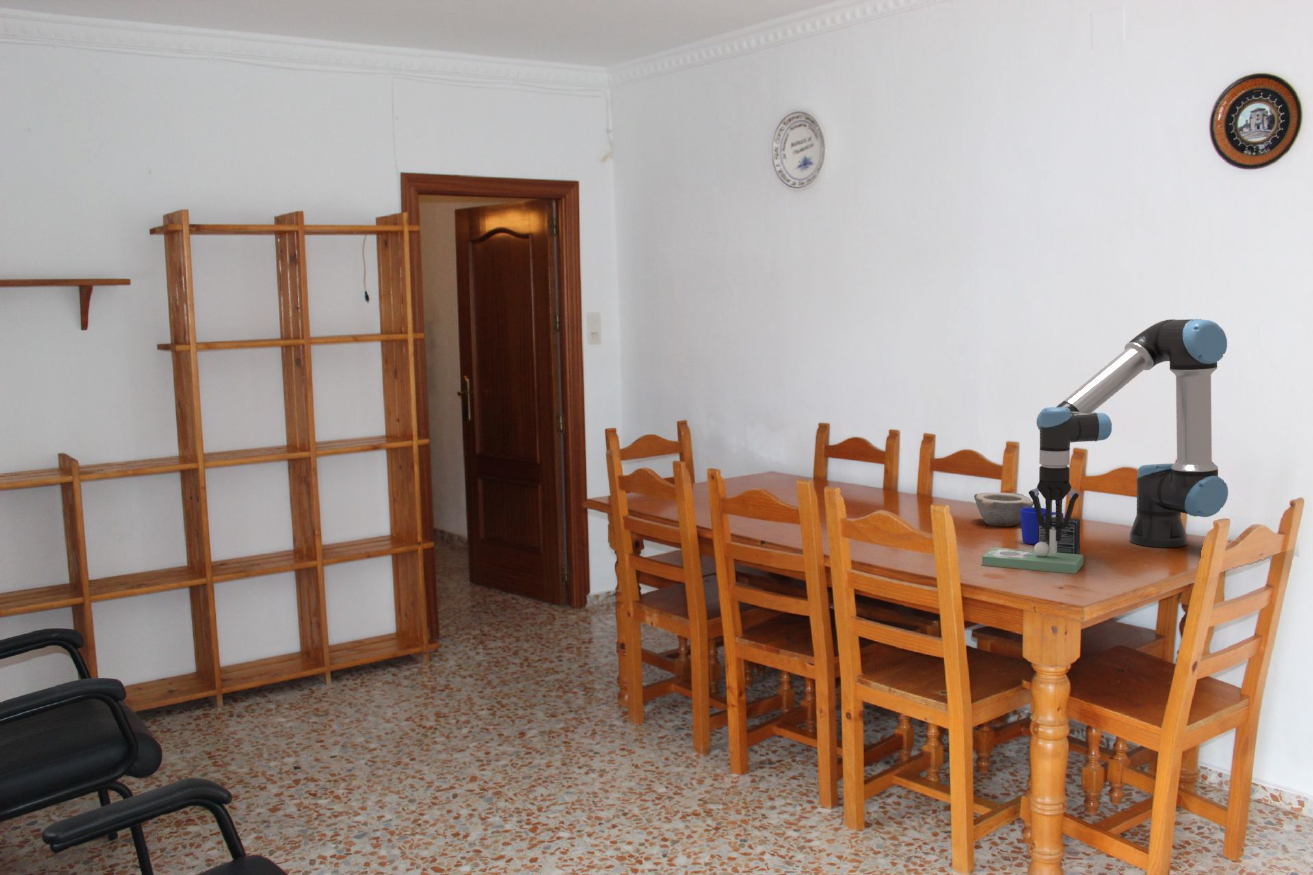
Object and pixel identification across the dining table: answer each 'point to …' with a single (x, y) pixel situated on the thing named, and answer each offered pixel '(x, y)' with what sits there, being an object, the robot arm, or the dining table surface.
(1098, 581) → the dining table surface
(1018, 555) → the green
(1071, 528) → the small box
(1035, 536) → the mug
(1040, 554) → the ball
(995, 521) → the mortar
